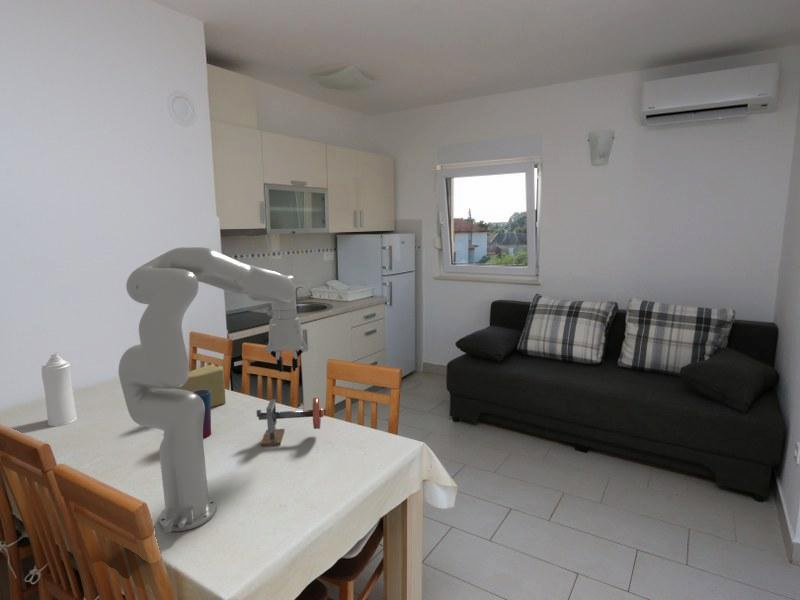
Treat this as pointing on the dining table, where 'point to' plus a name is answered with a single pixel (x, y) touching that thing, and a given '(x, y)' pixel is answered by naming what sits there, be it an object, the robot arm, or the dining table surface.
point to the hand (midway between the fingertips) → (287, 369)
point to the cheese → (207, 383)
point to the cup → (207, 417)
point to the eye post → (272, 428)
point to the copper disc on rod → (299, 414)
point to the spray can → (58, 391)
